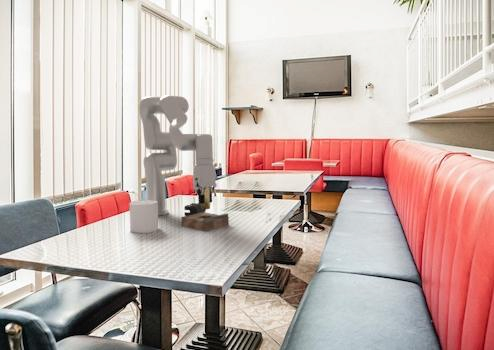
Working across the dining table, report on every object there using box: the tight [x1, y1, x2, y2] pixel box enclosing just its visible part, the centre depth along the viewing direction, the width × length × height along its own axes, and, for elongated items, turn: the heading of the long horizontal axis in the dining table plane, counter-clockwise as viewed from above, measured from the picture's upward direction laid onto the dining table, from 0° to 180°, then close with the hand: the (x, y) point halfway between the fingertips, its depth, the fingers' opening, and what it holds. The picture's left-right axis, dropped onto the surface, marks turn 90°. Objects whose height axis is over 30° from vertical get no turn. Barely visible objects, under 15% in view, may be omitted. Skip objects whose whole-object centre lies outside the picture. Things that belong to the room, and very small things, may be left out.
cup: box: [129, 199, 159, 234], centre depth 165 cm, size 12×12×12 cm
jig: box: [180, 211, 230, 232], centre depth 173 cm, size 16×14×5 cm
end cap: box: [184, 202, 207, 216], centre depth 191 cm, size 10×7×7 cm
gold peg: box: [201, 187, 211, 210], centre depth 171 cm, size 4×4×10 cm
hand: (205, 202), depth 172 cm, fingers closed on gold peg, 4 cm apart
